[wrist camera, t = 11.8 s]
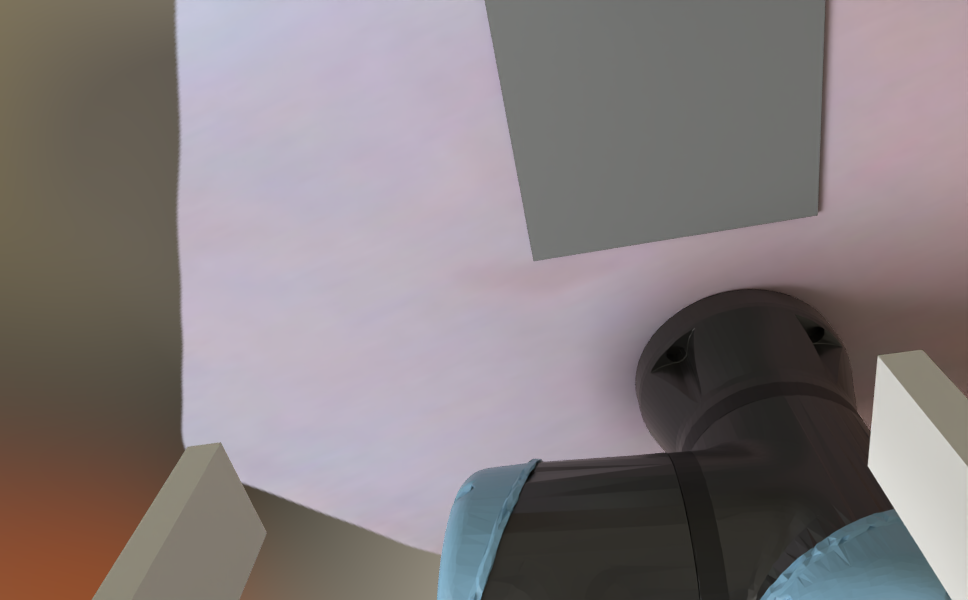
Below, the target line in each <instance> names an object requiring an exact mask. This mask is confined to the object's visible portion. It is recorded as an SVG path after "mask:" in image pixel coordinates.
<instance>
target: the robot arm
mask: <svg viewBox="0 0 968 600" xmlns="http://www.w3.org/2000/svg"><path fill="white" fill-rule="evenodd" d="M635 385H636V394H637V399H638V403H639V407H640V411H641V414H642V417H643V420H644V422H645V424H646V427H647V428H648V430H649V432H650V434H651V435H652V437H653V438H654V439H655V440H656V442H657V443H658V444H659V445H660V446H661V448H662V449H663V450H664V451H665V452H666V453H655V454H644V455H633V456H619V457H605V458H591V459H577V460H563V461H549V462H543V461H542V459H532V460H531V461H529V462H528V463H525V464H517V465H510V466H502V467H494V468H487V469H483V470H480V471H478V472H476V473H474V474H473V475H471V476H470V477H469V478H468V479H467V480H466V481H465V482H464V484H463V485H462V486H461V488H460V490H459V491H458V493H457V496H456V498H455V501H454V504H453V506H452V509H451V512H450V516H449V520H448V523H447V528H446V532H445V537H444V543H443V549H442V555H441V563H440V572H439V581H438V594H437V600H968V399H967V398H966V397H965V396H964V394H963V393H962V392H961V391H960V390H959V389H958V388H957V387H956V386H955V385H954V384H953V383H952V381H951V380H950V379H949V378H948V377H947V376H946V375H945V374H944V373H943V372H942V371H941V370H940V368H939V367H938V366H937V365H936V364H935V363H934V362H933V361H932V360H931V359H930V358H929V357H928V355H927V354H926V353H925V352H924V351H923V350H915V351H908V352H900V353H893V354H885V355H878V359H877V370H876V381H875V392H874V403H873V414H872V425H871V432H870V430H869V429H868V427H867V426H866V424H865V423H864V422H863V420H862V419H861V417H860V416H859V414H858V413H857V409H856V401H855V394H854V386H853V379H852V372H851V365H850V361H849V357H848V355H847V352H846V350H845V347H844V345H843V343H842V342H841V340H840V338H839V337H838V336H837V334H836V333H835V332H834V330H833V329H832V328H831V326H830V325H829V323H828V322H827V321H826V320H825V319H824V317H823V316H822V315H821V314H820V313H819V312H817V311H816V310H815V309H814V308H812V307H811V306H809V305H808V304H806V303H804V302H803V301H801V300H799V299H796V298H794V297H791V296H789V295H785V294H782V293H778V292H773V291H766V290H740V291H732V292H726V293H722V294H718V295H714V296H711V297H708V298H705V299H703V300H700V301H698V302H696V303H694V304H692V305H690V306H688V307H686V308H685V309H683V310H681V311H680V312H678V313H677V314H675V315H674V316H673V317H671V318H670V319H669V320H668V321H666V322H665V323H664V324H663V325H662V326H661V327H660V328H659V329H658V330H657V331H656V333H655V334H654V335H653V336H652V338H651V339H650V340H649V342H648V343H647V345H646V347H645V349H644V351H643V353H642V355H641V357H640V360H639V363H638V366H637V371H636V380H635ZM265 536H266V531H265V529H264V527H263V525H262V523H261V521H260V519H259V517H258V515H257V513H256V511H255V509H254V507H253V505H252V503H251V501H250V499H249V497H248V495H247V493H246V491H245V489H244V487H243V485H242V483H241V481H240V479H239V477H238V475H237V473H236V471H235V469H234V467H233V465H232V463H231V462H230V460H229V458H228V456H227V454H226V452H225V450H224V448H223V446H222V444H221V443H213V444H206V445H198V446H190V447H187V449H186V450H185V452H184V453H183V455H182V457H181V458H180V460H179V461H178V463H177V465H176V466H175V468H174V470H173V471H172V473H171V474H170V476H169V477H168V479H167V481H166V483H165V484H164V486H163V487H162V489H161V490H160V492H159V493H158V495H157V497H156V498H155V500H154V501H153V503H152V505H151V506H150V508H149V509H148V511H147V513H146V514H145V516H144V517H143V519H142V521H141V522H140V524H139V525H138V527H137V529H136V530H135V532H134V533H133V535H132V537H131V538H130V540H129V541H128V543H127V545H126V546H125V548H124V549H123V551H122V552H121V554H120V556H119V557H118V559H117V560H116V562H115V564H114V565H113V567H112V569H111V570H110V572H109V573H108V575H107V576H106V578H105V580H104V581H103V583H102V584H101V586H100V588H99V589H98V591H97V592H96V594H95V596H94V597H93V599H92V600H239V599H240V597H241V594H242V592H243V589H244V587H245V584H246V582H247V580H248V577H249V575H250V572H251V570H252V567H253V565H254V563H255V560H256V558H257V555H258V553H259V550H260V548H261V546H262V543H263V541H264V538H265Z"/></svg>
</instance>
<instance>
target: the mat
mask: <svg viewBox="0 0 968 600" xmlns="http://www.w3.org/2000/svg"><path fill="white" fill-rule="evenodd" d="M485 5H486V10H487V15H488V21H489V26H490V31H491V37H492V42H493V47H494V53H495V58H496V63H497V69H498V74H499V79H500V85H501V90H502V95H503V101H504V106H505V111H506V117H507V122H508V127H509V133H510V138H511V143H512V149H513V154H514V159H515V165H516V170H517V175H518V181H519V186H520V191H521V197H522V202H523V207H524V213H525V218H526V223H527V229H528V234H529V239H530V245H531V250H532V255H533V261H538V260H544V259H550V258H556V257H563V256H569V255H575V254H581V253H587V252H594V251H600V250H606V249H612V248H618V247H625V246H631V245H637V244H643V243H649V242H656V241H662V240H668V239H674V238H680V237H687V236H693V235H699V234H705V233H711V232H718V231H724V230H730V229H736V228H742V227H748V226H755V225H761V224H767V223H773V222H779V221H786V220H792V219H798V218H804V217H810V216H817V215H818V192H819V164H820V136H821V108H822V80H823V51H824V23H825V0H485Z"/></svg>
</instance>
